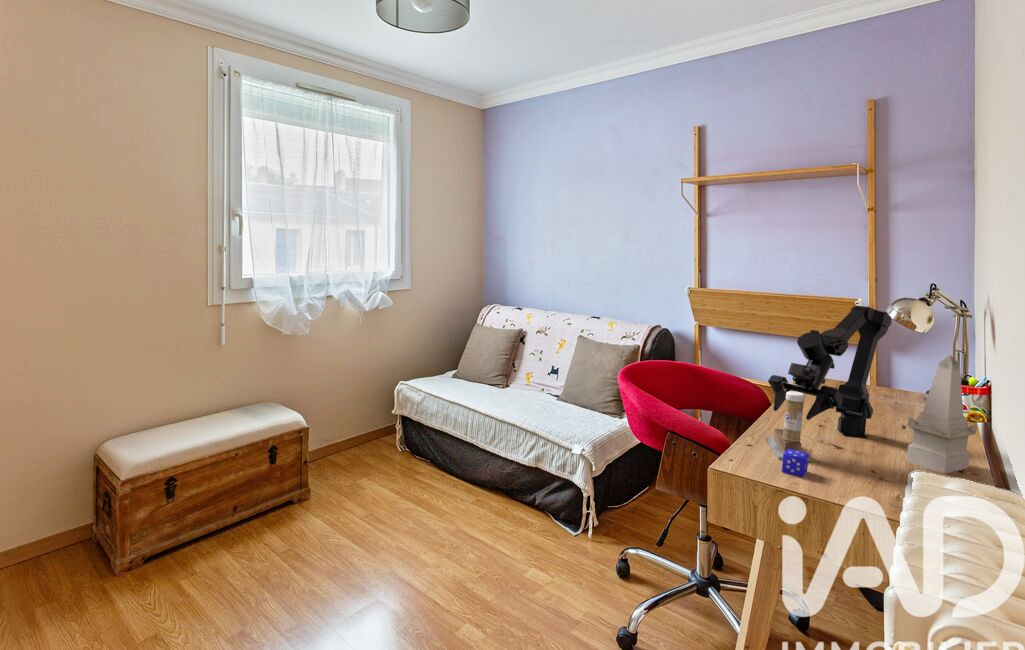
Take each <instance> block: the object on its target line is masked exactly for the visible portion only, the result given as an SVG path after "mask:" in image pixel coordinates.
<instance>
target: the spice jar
mask: <svg viewBox="0 0 1025 650" xmlns="http://www.w3.org/2000/svg"><path fill="white" fill-rule="evenodd" d="M805 395H806V394H804V393H801V392H796V391H792V390H790V391H789V392H787V393H786V399H785V413H784V419H783V429H784V431H783V439H784V440H786V441H789V442H799V441H800V442H801V440H802V439H801V432H802V428H803V427H802V425H803V424H802V423H803V414H804V413H803V412H804V402H805V397H806V396H805Z"/></svg>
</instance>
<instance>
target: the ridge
mask: <svg viewBox="0 0 1025 650" xmlns="http://www.w3.org/2000/svg"><path fill="white" fill-rule="evenodd" d="M783 431H784V428H774V434H773V437H769V436H768V437H764V440H766V441H765V442H766V443H768V444H767V445H768V446H770V447H769V448H770V449H772V450H771V451H772V452H773V455H774V456H775V457H776V458H777V460H779V459H780V460H781V461H783V454H784V453H785V452H786V450H787V449H791V450H796V451H800V452H805V451H804V450H803V448H802V443H801V440H800V441H799V442H789V441H786V440H784V439H783ZM780 460H779V461H780ZM811 462H812V461H811V458H810V456H809V457H808V463H811Z"/></svg>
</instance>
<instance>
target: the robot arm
mask: <svg viewBox="0 0 1025 650" xmlns="http://www.w3.org/2000/svg"><path fill="white" fill-rule="evenodd" d="M891 325H892V317H891V315H890V314H889V312H888V311H883V310H882V311H880V310H877V309H875V308H873V307H871V306H864V305H863V306H862V305H855V306H852V307H851V309H850V312H848V314H846V315H845V316H844V317H843V318H842V320H841V321H839V322H838V324H837V325H836V326H835V327H833V328H830V329H826V330H824V331H822V332H821V333H820V331H819V330H817V329H816V330H815V329H811V330H810V331H809V332H806V333H804V334H802V335H800V336H799V337H798V338H797V340H796V343H797V345H798V348H799V350H800V351H801V353H802V355H803V357H804V358H805V359H806V360H807V362H806V363H805V364H801V363H796V362H791V363H790V366H789V369H788V371H787V374H788V375H790V376H792V378H791V379H792V381H793V382H795V383H792V382H789V381H788V379H787V378H786V377H785V376H781V375H777V374H772V375H771V376H770V377H769V378H768V380H767V382H768V384H769V385H770V387H771V389H772V391H773V392H774V401H773V410H774V411H773V412H777V411H778V410H779V409H780V408H781V406H782V405H783V404H784V402H786V393H787V392H789V391H795V392H801V393H803V394H804V395H809V396H814V397H815V400H814V401H813V404H812V405H811V407H810V409H809V410H808V411H807V414H806V416H805V419H806V420H807V421H809V420H812V419H813V418H814V417H817V415H819V414H821V413H824V412H826V411H829V410H830V409H834V408H835V413H840V416H839V417H838V419H837V428H836V430H837V431H838V432H840V434H842V435H843V436H846V437H855V438H857V437H858V438H868V435H867V434H866V427H867V419H868V420H870V419H872V416H873V415H874V413H873V412H874V409H873V407H872V404H871V403H870V393H869V391H868V387H867V382H868V379H869V376H870V371H871V367H872V363H873V360H874V357H875V356H874V355H875V353H876V348H877V346H878V342H879V340H880V339H882V338H883V337H884V336H885V335H886V334H887V333H888V330H889V328H890V327H891ZM857 332H858V334H859V339H858V343H857V346H856V351H855V353H854V357H853V361H852V365H851V368H850V371H849V372H850V373H849V377H848V379H847V381H845V383H844V384H842V383H840V385H839V386H838V387H835V386H829V385H825V383H826V381H827V380H826V379H825V378H826V376H827V374H828V373H829V372H830V369H831V370H832V369H835V367H836V366H835V363H834V362H835V361H834V359H833V357H832V356H836V357H841V356H843V355H844V354H845V352H846V351H847V350H848V348H849V340H850V339H851V338H852V337H853V336H854V335H855V334H856V333H857ZM821 385H822V386H821Z"/></svg>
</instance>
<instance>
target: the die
mask: <svg viewBox="0 0 1025 650" xmlns="http://www.w3.org/2000/svg"><path fill="white" fill-rule="evenodd" d="M808 457H809V458H810V453H809V452H805V451H804V452H800V451H796V450H791V449H787V450H786V452H785V453H784V454H783V460H782V464H781V473H783V474H786V475H787V474H788V475H791V476H795V477H798V478H799V477H800V478H804V477H805V475H806V474H807V472H808V467H809V466H808V465H809V462H808Z"/></svg>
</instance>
